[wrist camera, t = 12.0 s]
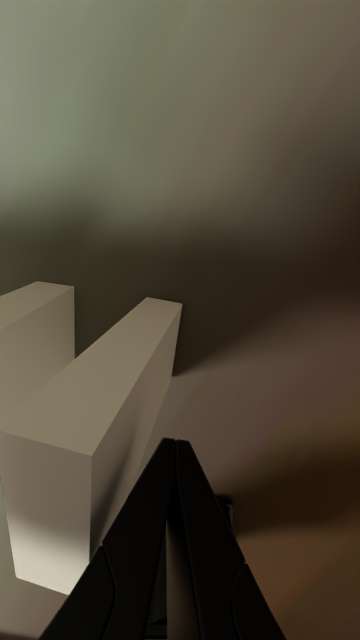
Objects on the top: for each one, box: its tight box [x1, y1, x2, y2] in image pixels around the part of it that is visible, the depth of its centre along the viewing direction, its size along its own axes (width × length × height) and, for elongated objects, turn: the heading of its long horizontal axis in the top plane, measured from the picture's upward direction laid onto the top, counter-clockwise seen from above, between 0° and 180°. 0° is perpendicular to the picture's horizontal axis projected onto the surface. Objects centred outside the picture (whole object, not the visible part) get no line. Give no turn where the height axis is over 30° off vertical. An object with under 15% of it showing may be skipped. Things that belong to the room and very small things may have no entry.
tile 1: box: [0, 297, 182, 595], centre depth 10 cm, size 2×5×10 cm, turn 172°
